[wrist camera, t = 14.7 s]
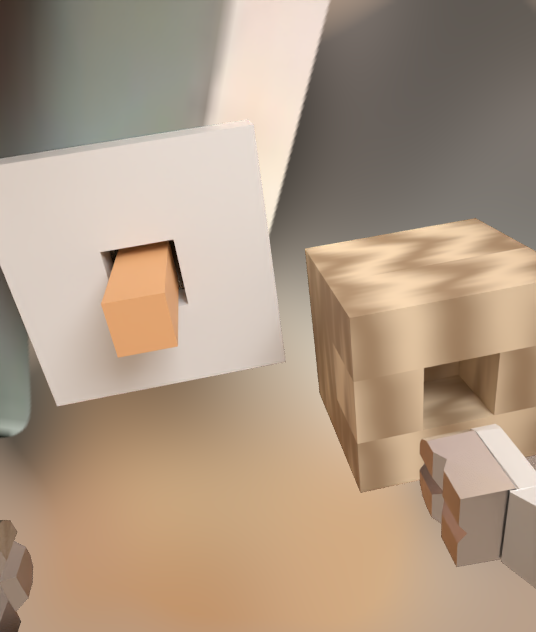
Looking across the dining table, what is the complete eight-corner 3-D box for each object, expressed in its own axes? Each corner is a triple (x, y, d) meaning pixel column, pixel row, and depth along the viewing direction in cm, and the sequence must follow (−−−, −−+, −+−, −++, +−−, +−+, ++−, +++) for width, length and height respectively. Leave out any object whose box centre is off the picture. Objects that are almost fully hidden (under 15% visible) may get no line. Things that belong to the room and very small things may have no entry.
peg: (168, 237, 38) (164, 292, 29) (178, 281, 40) (177, 346, 31) (119, 246, 38) (100, 304, 29) (132, 290, 39) (117, 357, 31)
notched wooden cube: (475, 218, 41) (578, 274, 30) (466, 363, 47) (548, 452, 37) (304, 248, 40) (349, 318, 29) (319, 393, 46) (360, 492, 36)
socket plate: (248, 119, 35) (253, 124, 32) (279, 343, 43) (285, 361, 41) (-21, 161, 34) (-38, 170, 31) (65, 384, 42) (57, 406, 39)
